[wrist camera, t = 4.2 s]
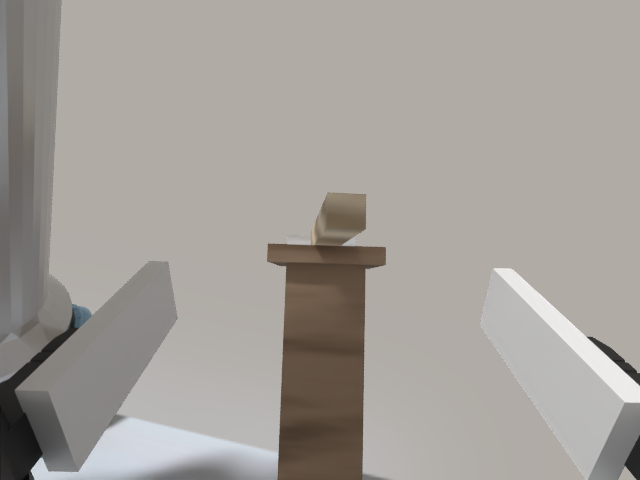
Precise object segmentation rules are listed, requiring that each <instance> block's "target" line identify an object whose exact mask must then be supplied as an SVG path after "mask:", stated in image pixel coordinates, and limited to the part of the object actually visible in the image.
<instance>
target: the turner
mask: <svg viewBox="0 0 640 480" xmlns="http://www.w3.org/2000/svg"><path fill="white" fill-rule="evenodd" d="M365 229H366V194H346V193H327V196H326V198H325V201H324V203H323V205H322V207H321V210H320V212H319V214H318V217H317V219H316V221H315V224H314V226H313V229H312V231H311V236H297V235H288V239H287V244H295V245H328V246H356V238H353V237H355V236H356V235H357V234H359V233H361V232H362V231H363V230H365Z"/></svg>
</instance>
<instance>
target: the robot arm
mask: <svg viewBox="0 0 640 480" xmlns="http://www.w3.org/2000/svg"><path fill="white" fill-rule="evenodd" d="M60 21H61V0H0V480H34V477H33V475H32V473H31V471H30V470H31V469H32V468H33V466H34V465H35V464H36V462H37V461H38V460H39V459H40V458H42V457H43V459H44V462H45V464H46V466H47V469H48V471H64V472H78V471H79V470H80V468H81V467H82V465H83V464H84V462H85V461H86V459H87V457H88V456H89V454H90V453H91V451H92V450H93V448H94V447H95V445H96V444H97V442H98V441H99V439H100V437H101V436H102V434H103V433H104V431H105V430H106V428H107V427H108V425H109V424H110V422H111V420H112V419H113V417H114V416H115V414H116V413H117V411H118V410H119V408H120V407H121V405H122V403H123V402H124V400H125V399H126V397H127V396H128V394H129V393H130V391H131V390H132V388H133V387H134V385H135V383H136V382H137V380H138V379H139V377H140V376H141V374H142V373H143V371H144V370H145V368H146V367H147V365H148V363H149V362H150V360H151V359H152V357H153V355H154V354H155V352H156V351H157V349H158V348H159V347H160V345H161V343H162V342H163V340H164V339H165V337H166V336H167V334H168V333H169V331H170V329H171V328H172V326H173V325H174V323H175V322H176V320H177V313H176V307H175V301H174V295H173V289H172V283H171V277H170V271H169V265H168V262H156V261H155V262H154V261H149V262H148V263H147V264H146V265H145V266H144V267H143V268H142V269H141V270H140V271H138V272H137V274H135V275H134V276H133V277H132V278H131V279H130V280H129V281H128V282H127V283H126V284H125V285H124V286H123V287H122V288H121V289H120V290H119V291H118V292H116V293H115V294H114V296H112V297H111V298H110V299H109V300H108V301H107V302H106V303H105V304H104V305H103V306H102V307H101V308H100V309H99V310H98V311H97V312H96V313H95V314H94V315H91V313H90V311H89V310H88V309H87V308H85V307H80V306H77V305H74V304H72V303H71V299H70V296H69V293H68V292H67V290H66V288H65V287H64V286H63V285H62V284H61V283H60V282H59V281H58V280H57V279H55V278H54V277H53V276H52V275H50V274H49V255H50V232H51V212H52V191H53V170H54V149H55V127H56V106H57V83H58V64H59V43H60V42H59V41H60ZM480 326H481V328H482V329H483V331H484V332H485V334H486V335H487V336H488V338H489V339H490V341H491V342H492V344H493V345H494V347H495V348H496V350H497V351H498V353H499V354H500V355H501V357H502V358H503V360H504V361H505V363H506V364H507V366H508V367H509V369H510V370H511V372H512V373H513V375H514V376H515V377H516V379H517V380H518V382H519V383H520V385H521V386H522V388H523V389H524V391H525V392H526V394H527V395H528V396H529V398H530V399H531V401H532V402H533V404H534V405H535V407H536V408H537V409H538V411H539V412H540V414H541V415H542V417H543V418H544V420H545V421H546V423H547V424H548V426H549V427H550V429H551V430H552V432H553V433H554V434H555V436H556V437H557V439H558V440H559V442H560V443H561V445H562V446H563V448H564V449H565V451H566V452H567V453H568V455H569V456H570V458H571V459H572V461H573V462H574V464H575V465H576V467H577V468H578V469H579V471H580V472H581V474H582V475H583V477H584V478H585V480H618V478H619V476H620V475H621V473H622V471H623V469H624V467H625V466H626V467H627V468H628V470H629V471H630V472H631V473H632V475H633V476H634V477H635V478H636V479H637V480H640V373H637V371H636V370H635V369H634V368H633V367H632V366H631V365H630V364H629V363H625V360H624V359H623V358H622V357H621V356H619V355H618V354H617V353H616V352H615V351H614V350H613V349H611V348H610V347H608V346H607V345H605V344H603V343H602V342H600V341H598V340H596V339H595V338H593V337H586V336H585V335H584V334H583V333H582V332H580V331H579V330H578V329H577V328H576V327H575V326H574V325H573V324H572V323H571V322H570V321H568V320H567V319H566V318H565V317H564V316H563V315H562V314H561V313H560V312H559V311H557V310H556V309H555V308H554V307H553V306H552V305H551V304H550V303H549V302H547V300H545V299H544V298H543V297H542V296H541V295H540V294H539V293H538V292H537V291H536V290H535V289H533V288H532V287H531V286H530V285H529V284H528V283H527V282H526V281H524V279H523V278H521V277H520V276H519V275H518V274H517V273H516V272H515V271H514V270H513V269H503V268H502V269H501V268H493V270H492V274H491V278H490V283H489V287H488V291H487V295H486V300H485V304H484V308H483V312H482V316H481V321H480Z"/></svg>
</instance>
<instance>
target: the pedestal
mask: <svg viewBox="0 0 640 480" xmlns="http://www.w3.org/2000/svg"><path fill="white" fill-rule="evenodd" d="M267 261H268V262H271V263H274V264H276V265H279V266H286V290H285V314H284V338H283V362H282V386H281V411H280V413H281V414H280V435H279V459H278V480H362V458H363V457H362V456H363V454H362V453H363V392H364V391H363V389H364V326H365V319H364V318H365V269H370V268H374V267H379V266H383V265H385V263H386V262H385V261H386V248H385V247H362V246H359V247H358V246H328V245H295V244H268V255H267Z"/></svg>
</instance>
